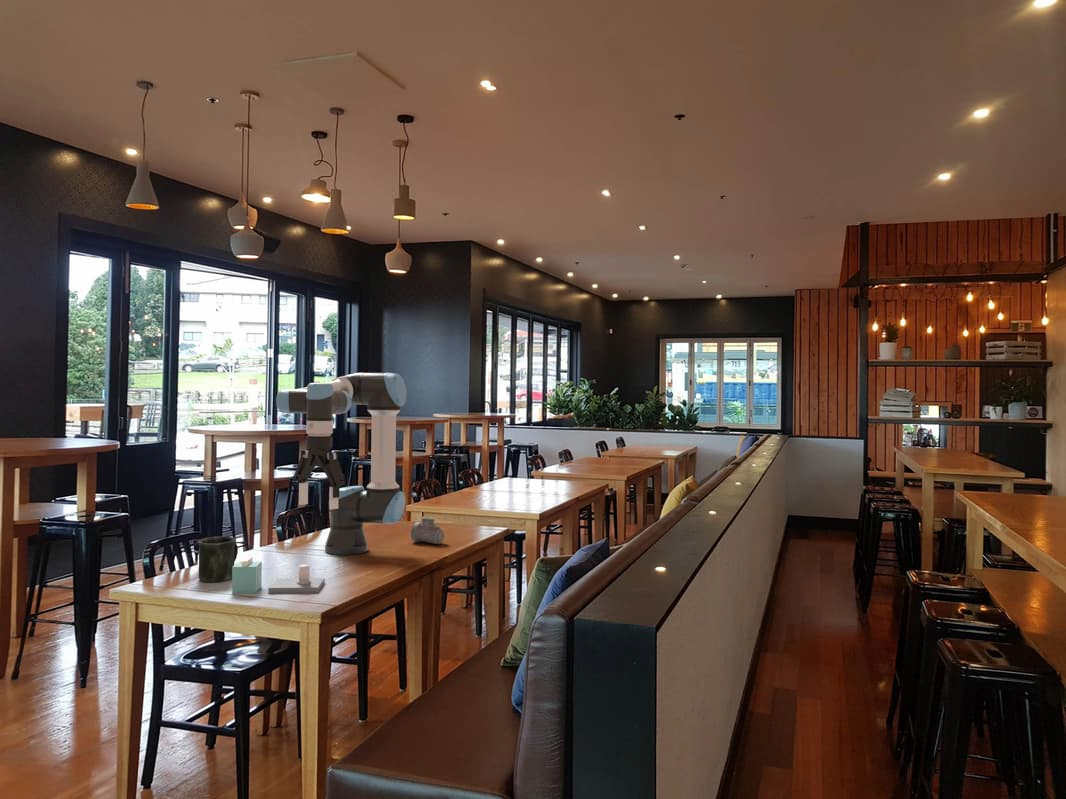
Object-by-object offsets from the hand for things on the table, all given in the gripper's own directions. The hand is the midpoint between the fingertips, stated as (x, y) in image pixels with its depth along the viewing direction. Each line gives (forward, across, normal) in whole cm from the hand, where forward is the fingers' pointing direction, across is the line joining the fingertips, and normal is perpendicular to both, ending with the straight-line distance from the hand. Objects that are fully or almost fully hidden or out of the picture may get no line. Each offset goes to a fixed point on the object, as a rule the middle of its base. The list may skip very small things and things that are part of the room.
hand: (318, 506), depth 228 cm
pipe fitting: (+24, -19, +69) cm, 75 cm away
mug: (+24, -33, -10) cm, 42 cm away
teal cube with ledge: (+24, -14, -14) cm, 31 cm away
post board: (+24, -4, -4) cm, 25 cm away
